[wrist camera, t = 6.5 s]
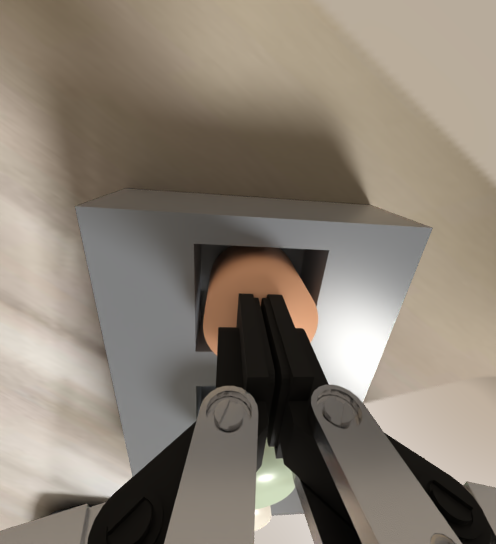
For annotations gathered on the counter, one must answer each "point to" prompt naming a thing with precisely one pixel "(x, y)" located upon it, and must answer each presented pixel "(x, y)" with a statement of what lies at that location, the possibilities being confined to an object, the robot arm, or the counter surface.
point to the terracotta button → (254, 288)
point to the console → (194, 286)
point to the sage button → (272, 480)
